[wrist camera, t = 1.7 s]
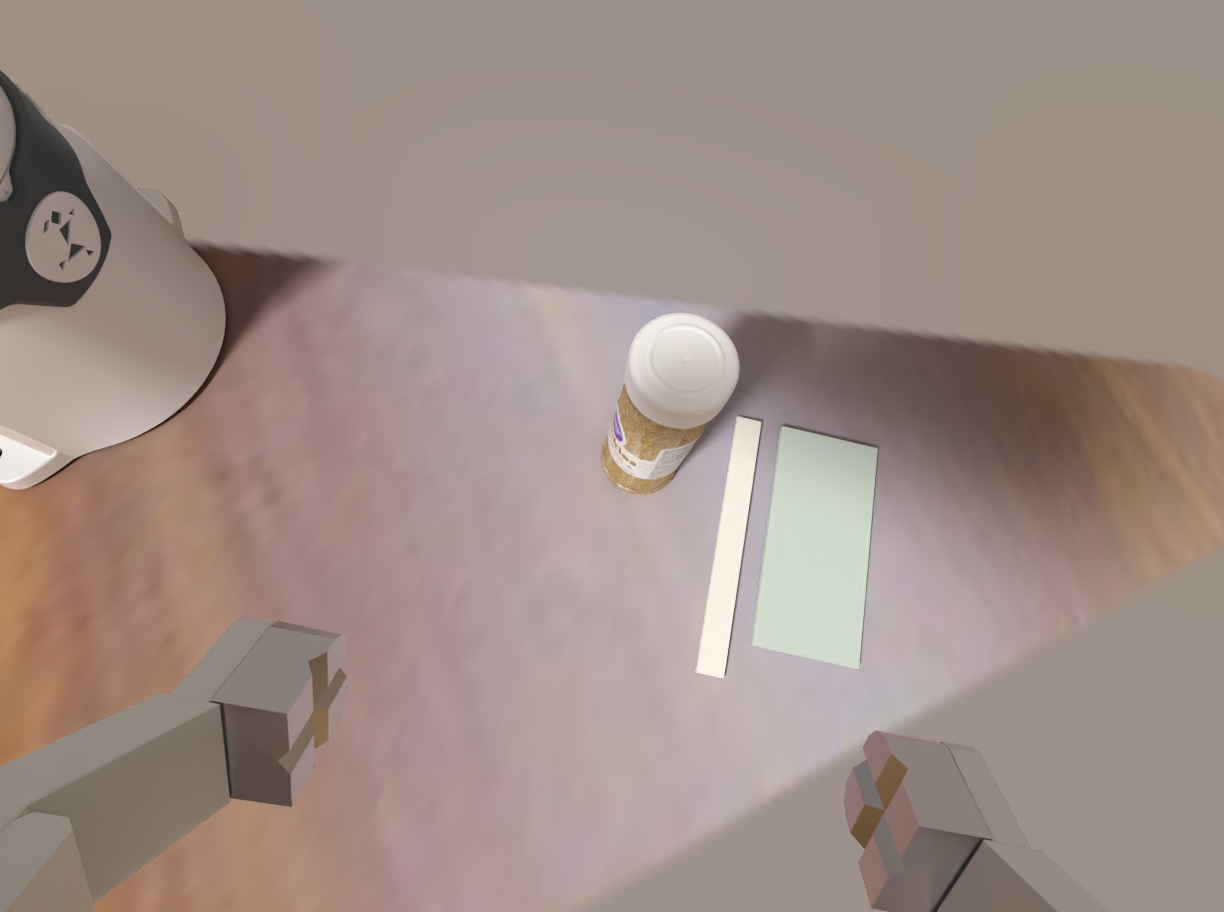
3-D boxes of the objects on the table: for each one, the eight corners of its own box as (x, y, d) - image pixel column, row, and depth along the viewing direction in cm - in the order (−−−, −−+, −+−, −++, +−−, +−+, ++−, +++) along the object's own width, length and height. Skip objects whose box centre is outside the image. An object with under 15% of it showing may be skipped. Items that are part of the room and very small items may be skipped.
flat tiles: (695, 671, 36) (697, 671, 35) (735, 417, 41) (737, 415, 40) (852, 706, 36) (855, 707, 36) (874, 450, 41) (877, 448, 40)
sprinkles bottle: (587, 441, 39) (609, 331, 26) (655, 411, 40) (708, 291, 27) (622, 510, 38) (662, 430, 25) (691, 478, 39) (763, 385, 26)
